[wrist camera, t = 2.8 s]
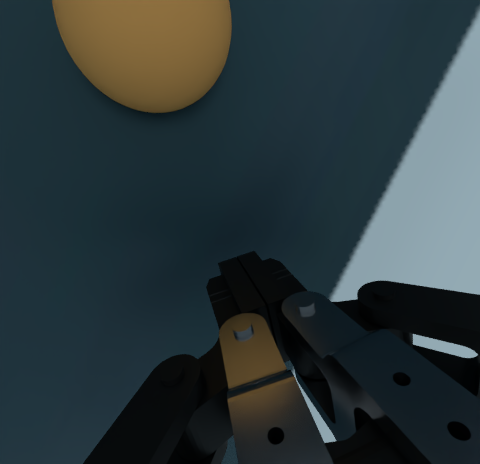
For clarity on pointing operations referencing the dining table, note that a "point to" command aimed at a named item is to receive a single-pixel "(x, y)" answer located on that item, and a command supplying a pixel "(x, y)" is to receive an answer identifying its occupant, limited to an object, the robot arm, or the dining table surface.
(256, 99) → the dining table surface
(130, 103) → the ball
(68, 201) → the dining table surface
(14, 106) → the dining table surface
